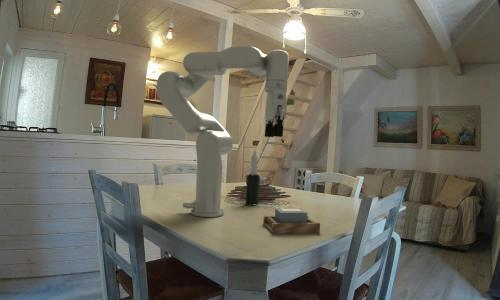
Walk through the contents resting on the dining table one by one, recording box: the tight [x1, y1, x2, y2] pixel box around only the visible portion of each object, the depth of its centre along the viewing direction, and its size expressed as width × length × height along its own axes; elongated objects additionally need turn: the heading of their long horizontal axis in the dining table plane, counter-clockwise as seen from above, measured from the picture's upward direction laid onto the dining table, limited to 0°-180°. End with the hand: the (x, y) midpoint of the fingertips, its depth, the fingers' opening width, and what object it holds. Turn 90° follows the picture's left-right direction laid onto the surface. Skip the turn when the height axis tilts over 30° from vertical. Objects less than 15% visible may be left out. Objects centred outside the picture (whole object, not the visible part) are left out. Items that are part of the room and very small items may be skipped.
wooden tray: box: [262, 215, 321, 235], centre depth 98 cm, size 16×10×3 cm, turn 104°
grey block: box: [274, 207, 308, 223], centre depth 98 cm, size 9×6×5 cm, turn 103°
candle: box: [245, 149, 261, 205], centre depth 134 cm, size 5×5×25 cm
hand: (273, 136), depth 103 cm, fingers open, 9 cm apart
